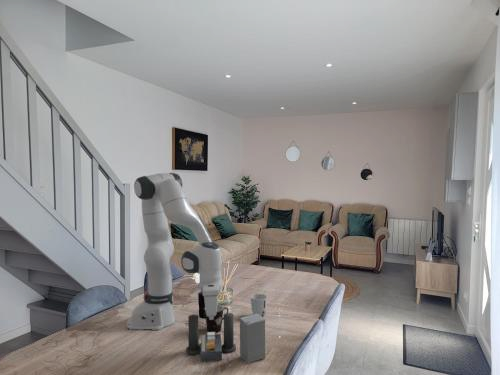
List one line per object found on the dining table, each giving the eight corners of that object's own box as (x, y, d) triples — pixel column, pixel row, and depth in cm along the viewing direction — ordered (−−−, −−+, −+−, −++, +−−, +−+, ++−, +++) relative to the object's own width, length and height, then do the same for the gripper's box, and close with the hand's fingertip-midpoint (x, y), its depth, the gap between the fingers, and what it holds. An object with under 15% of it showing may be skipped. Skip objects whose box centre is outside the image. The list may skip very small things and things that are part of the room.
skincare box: (257, 350, 135) (257, 312, 135) (266, 359, 129) (266, 318, 128) (238, 356, 131) (238, 316, 131) (247, 365, 125) (247, 323, 124)
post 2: (221, 353, 133) (221, 318, 133) (220, 345, 139) (220, 312, 139) (236, 352, 134) (236, 317, 134) (235, 344, 140) (235, 311, 139)
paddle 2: (207, 349, 129) (206, 345, 129) (207, 346, 132) (206, 342, 132) (215, 347, 130) (214, 343, 129) (214, 344, 132) (213, 340, 132)
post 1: (185, 355, 131) (185, 320, 131) (186, 347, 137) (186, 314, 137) (201, 354, 132) (200, 319, 132) (201, 346, 138) (201, 313, 138)
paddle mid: (207, 343, 133) (207, 339, 133) (207, 340, 136) (207, 336, 136) (215, 343, 134) (215, 339, 134) (214, 340, 136) (214, 336, 136)
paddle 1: (207, 338, 137) (207, 335, 137) (207, 336, 140) (207, 332, 139) (214, 338, 138) (214, 334, 137) (214, 335, 140) (214, 331, 140)
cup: (265, 320, 164) (265, 300, 163) (249, 319, 165) (249, 298, 165) (268, 313, 172) (268, 294, 171) (252, 312, 173) (252, 293, 173)
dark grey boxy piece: (200, 361, 127) (200, 351, 127) (201, 343, 141) (201, 334, 141) (222, 360, 128) (222, 350, 128) (220, 342, 142) (220, 333, 142)
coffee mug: (206, 335, 148) (205, 313, 148) (203, 327, 157) (203, 305, 156) (231, 332, 151) (231, 310, 151) (227, 324, 160) (227, 303, 159)
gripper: (203, 276, 144) (203, 308, 144) (202, 293, 123) (202, 330, 124) (218, 275, 144) (218, 307, 145) (219, 292, 124) (220, 329, 125)
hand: (211, 318), depth 134 cm, fingers closed
